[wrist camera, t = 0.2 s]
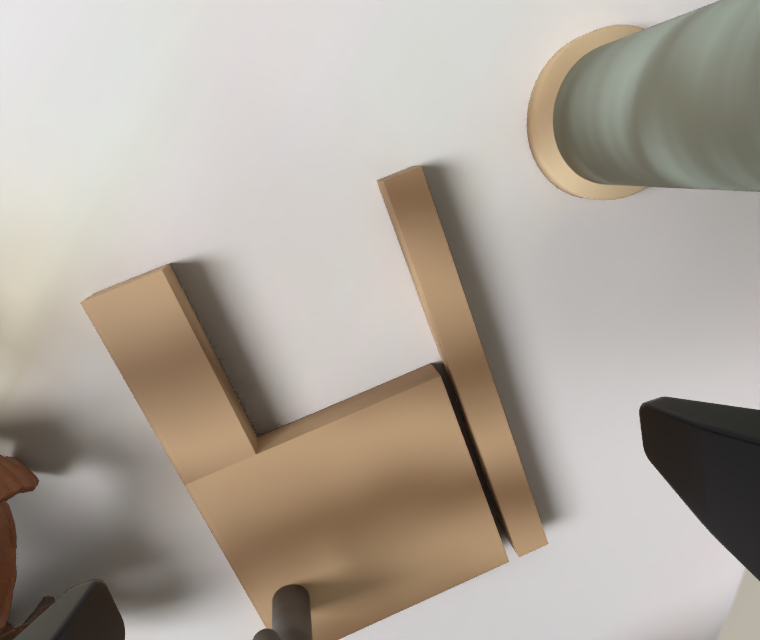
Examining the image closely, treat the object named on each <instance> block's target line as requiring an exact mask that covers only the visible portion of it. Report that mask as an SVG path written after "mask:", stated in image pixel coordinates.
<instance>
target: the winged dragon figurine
mask: <svg viewBox="0 0 760 640" xmlns="http://www.w3.org/2000/svg"><path fill="white" fill-rule="evenodd" d="M38 482H39V480H38V478H37V477H36V475H35V474H34V473H33V472H32V471H31V470H30V469H28V468H27V467H26V466H25V465H23V464H22V463H21V462H20V461H19V460H17V459H15V458H13V457H8V456H6V457H4V456H2V455H0V640H13V639H14V638H15V637H17V636H18V635H19V634H20V633H21V632H22V631H23V630H24V629H25V628H27V627H28V626H29V625H30V624H31V623H32V622H33V621H34V620H35V619H37V618H38V617H39V616H40V615H41V614H42V613H43V612H44V611H46V610H47V609H48V608H49V607H50V606H51V605H52V604H53V603H54V602H55V601H54V597H51V596H47V597H44V598H43V599H42V601H41V602H40V604H39V605H38V607H37V608H36V609H35V611H34V612H33V613H32V614H31V615H30V616H29V617H28V618H27V619H26V620H25V622H24V623H23V624H22V625H21V626H19V627H17V628H15V629H12V627H11V625H10V624H6V623H7V621H8V617H9V611H10V607H11V602H12V598H13V589H14V586H15V581H16V572H17V571H16V548H17V545H16V530H15V524H14V520H13V517H12V513H11V510H10V507H9V505H8V503H7V502H6V501H7V500H8V499H10V498H11V497H13V496H14V495H16V494H18V493H24V492H28V491H33V490H34V489H35V488H36V486H37V485H38Z"/></svg>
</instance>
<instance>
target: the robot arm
mask: <svg viewBox="0 0 760 640" xmlns="http://www.w3.org/2000/svg"><path fill="white" fill-rule="evenodd" d="M639 416H640V424H641V432H642V440H643V447H644V451H645V453H646V456H647V457H648V459H649V460H650V462H651V463H652V464H653V465H654V467H655V468H656V469H657V470H658V471H659V473H660V474H661V475H662V476H663V477H664V479H665V480H666V481H667V482H668V483H669V485H670V486H671V487H672V488H673V489H674V491H675V492H676V493H677V494H678V495H679V497H680V498H681V499H682V500H683V501H684V502H685V504H686V505H687V506H688V507H689V508H690V510H691V511H692V512H693V513H694V514H695V516H696V517H697V518H698V519H699V520H700V521H701V523H702V524H703V525H704V526H705V527H706V528H707V529H708V530H709V532H710V533H711V534H712V535H713V536H714V537H715V538H716V539H717V540H718V541H719V542H720V543H721V544H722V545H723V546H724V547H725V548H726V549H727V550H728V551H729V552H730V553H731V554H732V555H733V556H734V557H735V558H737V559H738V560H739V561H740V562H741V563H742V564H743V565H744V566H745V567H746V568H747V569H748V570H749V571H750V572H751V573H752V574H753V575H754V576H755V577H756V578H757V579H758V580H759V581H760V410H756V409H749V408H742V407H735V406H728V405H721V404H714V403H707V402H700V401H693V400H686V399H679V398H671V397H660V398H657V399H654V400H651V401H648V402H645V403H643V404H642V405H641V406H640V410H639ZM13 640H125V627H124V622H123V619H122V617H121V615H120V612H119V610H118V608H117V606H116V604H115V602H114V600H113V598H112V596H111V594H110V592H109V590H108V588H107V586H106V584H105V583H104V582H103V581H102V580H99V579H95V580H92V581H89V582H86V583H82V584H79V585H76V586H74V587H72V588H70V589H69V590H68V591H67V592H66V593H64V594H63V595H62V596H61V597H60V598H59V599H58V600H57V601H56V602H54V603H53V604H52V605H51V606H50V607H49V608H48V609H47V610H46V611H44V612H43V613H42V614H41V615H40V616H39V617H38V618H37V619H35V620H34V621H33V622H32V623H31V624H30V625H29V626H28V627H27V628H25V629H24V630H23V631H22V632H21V633H20V634H19V635H18V636H17V637H15V638H14V639H13Z"/></svg>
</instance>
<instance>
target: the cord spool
mask: <svg viewBox="0 0 760 640" xmlns="http://www.w3.org/2000/svg"><path fill="white" fill-rule="evenodd" d="M527 134H528V140H529V145H530V149H531V152H532V155H533V157H534V159H535V161H536V163H537V165H538V167H539V169H540V170H541V172H542V173H543V174H544V175H545V177H546V178H547V179H548V180H549V181H550V182H551V183H552V184H554V185H555V186H556V187H557V188H559V189H561V190H562V191H564V192H566V193H568V194H570V195H573V196H577V197H580V198H588V199H599V200H614V199H619V198H624V197H627V196H630V195H633V194H635V193H637V192H639V191H641V190H643V189H644V188H646V187H668V188H690V189H712V190H734V191H756V192H760V0H720V1H717V2H715V3H712V4H710V5H707V6H704V7H702V8H699V9H697V10H694V11H691V12H689V13H686V14H683V15H681V16H678V17H676V18H673V19H670V20H668V21H665V22H663V23H660V24H657V25H655V26H652V27H650V28H647V29H643V28H640V27H636V26H630V25H613V26H607V27H603V28H600V29H597V30H594V31H592V32H590V33H588V34H585V35H583V36H581V37H579V38H577V39H575V40H573V41H571V42H570V43H568V44H567V45H565V46H564V47H562V48H561V49H560V50H559V51H558V52H557V53H555V55H554V56H553V57H552V58H551V59H550V60H549V61H548V63H547V64H546V65H545V67H544V68H543V70H542V71H541V73H540V75H539V77H538V79H537V80H536V83H535V85H534V88H533V90H532V93H531V97H530V100H529V105H528V112H527Z"/></svg>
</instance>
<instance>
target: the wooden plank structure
mask: <svg viewBox="0 0 760 640" xmlns="http://www.w3.org/2000/svg"><path fill="white" fill-rule="evenodd" d="M377 183H378V186H379V188H380V191H381V194H382V197H383V199H384V202H385V205H386V208H387V210H388V213H389V216H390V219H391V221H392V224H393V227H394V230H395V232H396V235H397V238H398V241H399V243H400V246H401V249H402V252H403V254H404V257H405V260H406V263H407V265H408V268H409V271H410V274H411V276H412V279H413V282H414V285H415V287H416V290H417V293H418V296H419V298H420V301H421V304H422V307H423V309H424V312H425V315H426V318H427V320H428V323H429V326H430V329H431V331H432V334H433V337H434V340H435V342H436V345H437V348H438V351H439V353H440V356H441V359H442V362H443V364H444V367H445V370H446V373H447V375H448V378H449V381H450V384H451V386H452V389H453V392H454V395H455V397H456V400H457V403H458V405H459V408H460V411H461V414H462V416H463V419H464V422H465V425H466V427H467V430H468V433H469V436H470V438H471V441H472V444H473V447H474V449H475V452H476V455H477V458H478V460H479V463H480V466H481V469H482V471H483V474H484V477H485V480H486V482H487V485H488V488H489V491H490V493H491V496H492V499H493V502H494V504H495V507H496V510H497V513H498V515H499V518H500V521H501V524H502V526H503V529H504V532H505V535H506V537H507V539H508V540H509V542H510V544H511V545H512V547H513V548H514V550H515V552H516V553H517V555H518V556H519V557H521V556H523V555H525V554H527V553H529V552H532V551H534V550H536V549H538V548H540V547H543V546H545V545H547V544H548V541H547V538H546V535H545V532H544V530H543V527H542V524H541V521H540V518H539V515H538V512H537V509H536V506H535V503H534V500H533V497H532V494H531V491H530V488H529V485H528V482H527V479H526V476H525V473H524V470H523V467H522V464H521V461H520V458H519V455H518V452H517V449H516V446H515V443H514V440H513V437H512V434H511V431H510V428H509V425H508V422H507V419H506V416H505V413H504V410H503V407H502V404H501V401H500V398H499V395H498V393H497V390H496V387H495V384H494V381H493V378H492V375H491V372H490V369H489V366H488V363H487V360H486V357H485V354H484V351H483V348H482V345H481V342H480V339H479V336H478V333H477V330H476V327H475V324H474V321H473V318H472V315H471V312H470V309H469V306H468V303H467V300H466V297H465V294H464V291H463V288H462V285H461V282H460V279H459V276H458V273H457V270H456V267H455V264H454V261H453V258H452V256H451V253H450V250H449V247H448V244H447V241H446V238H445V235H444V232H443V229H442V226H441V223H440V220H439V217H438V214H437V211H436V208H435V205H434V202H433V199H432V196H431V193H430V190H429V187H428V184H427V181H426V178H425V175H424V172H423V169H422V166H412V167H409V168H407V169H404V170H402V171H399V172H397V173H394V174H392V175H389V176H387V177H384V178H382V179H379V180H377ZM81 304H82V306H83V308H84V310H85V311H86V313H87V315H88V317H89V318H90V320H91V322H92V324H93V325H94V327H95V329H96V331H97V332H98V334H99V336H100V338H101V339H102V341H103V343H104V345H105V346H106V348H107V350H108V352H109V353H110V355H111V357H112V359H113V360H114V362H115V364H116V366H117V367H118V369H119V371H120V373H121V374H122V376H123V378H124V380H125V381H126V383H127V385H128V387H129V388H130V390H131V392H132V394H133V395H134V397H135V399H136V401H137V402H138V404H139V406H140V408H141V409H142V411H143V413H144V415H145V416H146V418H147V420H148V422H149V423H150V425H151V427H152V429H153V430H154V432H155V434H156V436H157V437H158V439H159V441H160V443H161V444H162V446H163V448H164V450H165V451H166V453H167V455H168V457H169V458H170V460H171V462H172V464H173V465H174V467H175V469H176V471H177V472H178V474H179V476H180V478H181V479H182V481H183V483H184V485H185V486H186V488H187V490H188V492H189V493H190V495H191V497H192V499H193V500H194V502H195V504H196V506H197V507H198V509H199V511H200V513H201V514H202V516H203V518H204V520H205V521H206V523H207V525H208V527H209V528H210V530H211V532H212V534H213V535H214V537H215V539H216V541H217V542H218V544H219V546H220V548H221V549H222V551H223V553H224V555H225V556H226V558H227V560H228V562H229V563H230V565H231V567H232V569H233V570H234V572H235V574H236V576H237V577H238V579H239V581H240V583H241V584H242V586H243V588H244V590H245V591H246V593H247V595H248V597H249V598H250V600H251V602H252V604H253V605H254V607H255V609H256V611H257V612H258V614H259V616H260V618H261V619H262V621H263V623H264V625H265V626H266V628H267V629H263V630H261V631H259V632H258V633H257V634H256V635H255V636H254V638H253V640H338V639H341V638H343V637H345V636H347V635H349V634H352V633H354V632H356V631H358V630H360V629H363V628H365V627H367V626H369V625H371V624H374V623H376V622H378V621H380V620H382V619H385V618H387V617H389V616H391V615H393V614H396V613H398V612H400V611H402V610H404V609H406V608H409V607H411V606H413V605H415V604H417V603H420V602H422V601H424V600H426V599H428V598H431V597H433V596H435V595H437V594H439V593H442V592H444V591H446V590H448V589H450V588H453V587H455V586H457V585H459V584H461V583H464V582H466V581H468V580H470V579H472V578H475V577H477V576H479V575H481V574H483V573H486V572H488V571H490V570H492V569H494V568H497V567H499V566H501V565H503V564H505V563H507V562H509V560H508V557H507V554H506V552H505V549H504V546H503V544H502V541H501V538H500V535H499V533H498V530H497V527H496V525H495V522H494V519H493V516H492V514H491V511H490V508H489V506H488V503H487V500H486V497H485V495H484V492H483V489H482V487H481V484H480V481H479V478H478V476H477V473H476V470H475V468H474V465H473V462H472V459H471V457H470V454H469V451H468V449H467V446H466V443H465V440H464V438H463V435H462V432H461V430H460V427H459V424H458V421H457V419H456V416H455V413H454V411H453V408H452V405H451V402H450V400H449V397H448V394H447V392H446V389H445V386H444V383H443V381H442V378H441V376H440V374H439V373H438V372H437V370H436V369H435V368H434V367H433V365H432V364H429V365H426V366H424V367H421V368H419V369H417V370H414V371H412V372H410V373H407V374H405V375H403V376H400V377H398V378H396V379H393V380H391V381H389V382H386V383H384V384H382V385H379V386H377V387H374V388H372V389H370V390H367V391H365V392H363V393H360V394H358V395H356V396H353V397H351V398H349V399H346V400H344V401H342V402H339V403H337V404H335V405H332V406H330V407H327V408H325V409H323V410H320V411H318V412H316V413H313V414H311V415H309V416H306V417H304V418H302V419H299V420H297V421H295V422H292V423H290V424H288V425H285V426H283V427H280V428H278V429H276V430H273V431H271V432H269V433H266V434H264V435H262V436H259V437H257V435H256V433H255V431H254V429H253V427H252V425H251V423H250V421H249V419H248V417H247V415H246V414H245V412H244V410H243V408H242V406H241V404H240V402H239V400H238V398H237V396H236V394H235V392H234V390H233V388H232V386H231V384H230V382H229V380H228V378H227V376H226V374H225V372H224V370H223V368H222V366H221V364H220V362H219V360H218V358H217V356H216V354H215V352H214V350H213V348H212V346H211V344H210V342H209V340H208V338H207V336H206V334H205V332H204V330H203V328H202V326H201V324H200V322H199V320H198V318H197V316H196V314H195V313H194V311H193V309H192V307H191V305H190V303H189V301H188V299H187V297H186V295H185V293H184V291H183V289H182V287H181V285H180V283H179V281H178V279H177V277H176V275H175V273H174V271H173V269H172V267H171V265H170V263H169V264H167V265H164V266H162V267H159V268H157V269H154V270H152V271H149V272H147V273H144V274H142V275H139V276H137V277H134V278H132V279H129V280H127V281H124V282H122V283H119V284H117V285H114V286H112V287H109V288H107V289H104V290H102V291H99V292H97V293H94V294H93V295H91V296H90V297H88V298H87V299H85V300H84V301H82V302H81Z"/></svg>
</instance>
